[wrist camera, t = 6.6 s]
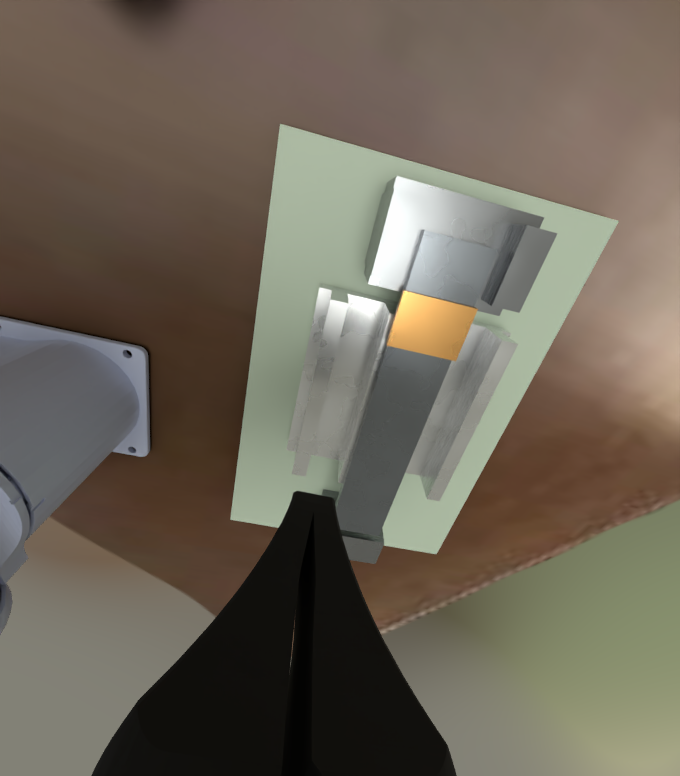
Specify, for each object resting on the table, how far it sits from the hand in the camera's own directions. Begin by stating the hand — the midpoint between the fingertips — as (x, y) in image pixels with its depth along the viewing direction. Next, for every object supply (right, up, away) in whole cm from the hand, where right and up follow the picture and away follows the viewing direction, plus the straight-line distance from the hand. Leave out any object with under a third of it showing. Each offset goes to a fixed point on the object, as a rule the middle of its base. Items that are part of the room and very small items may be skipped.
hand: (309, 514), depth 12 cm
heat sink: (+4, +4, +8) cm, 10 cm away
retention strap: (+4, +3, +6) cm, 7 cm away
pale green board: (+4, +4, +10) cm, 11 cm away
